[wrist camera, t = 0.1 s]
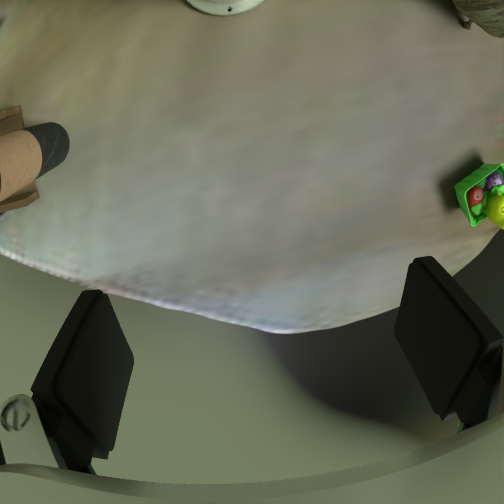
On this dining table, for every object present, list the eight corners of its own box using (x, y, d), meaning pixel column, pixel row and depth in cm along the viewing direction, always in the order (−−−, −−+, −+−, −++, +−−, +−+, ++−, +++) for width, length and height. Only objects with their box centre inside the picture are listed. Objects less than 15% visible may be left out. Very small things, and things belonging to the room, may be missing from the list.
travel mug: (75, 125, 38) (-10, 158, 21) (66, 173, 41) (-11, 227, 24) (37, 116, 36) (-51, 145, 19) (30, 162, 40) (-52, 209, 22)
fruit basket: (486, 154, 43) (528, 172, 33) (495, 192, 47) (533, 215, 37) (446, 183, 46) (486, 207, 36) (458, 221, 50) (493, 250, 40)
